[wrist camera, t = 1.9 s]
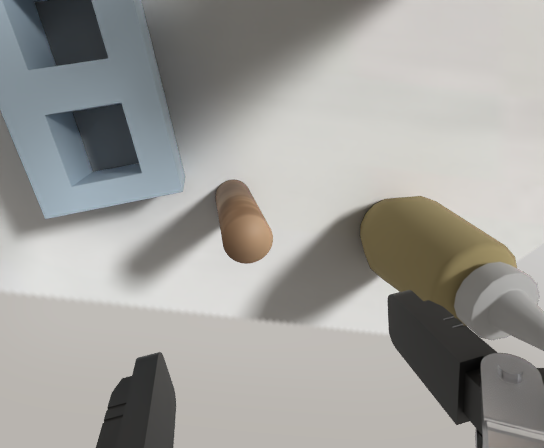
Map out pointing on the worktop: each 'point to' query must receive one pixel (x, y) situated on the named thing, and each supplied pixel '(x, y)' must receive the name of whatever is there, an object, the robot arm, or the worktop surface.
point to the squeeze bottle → (452, 267)
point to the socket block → (80, 96)
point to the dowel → (242, 223)
